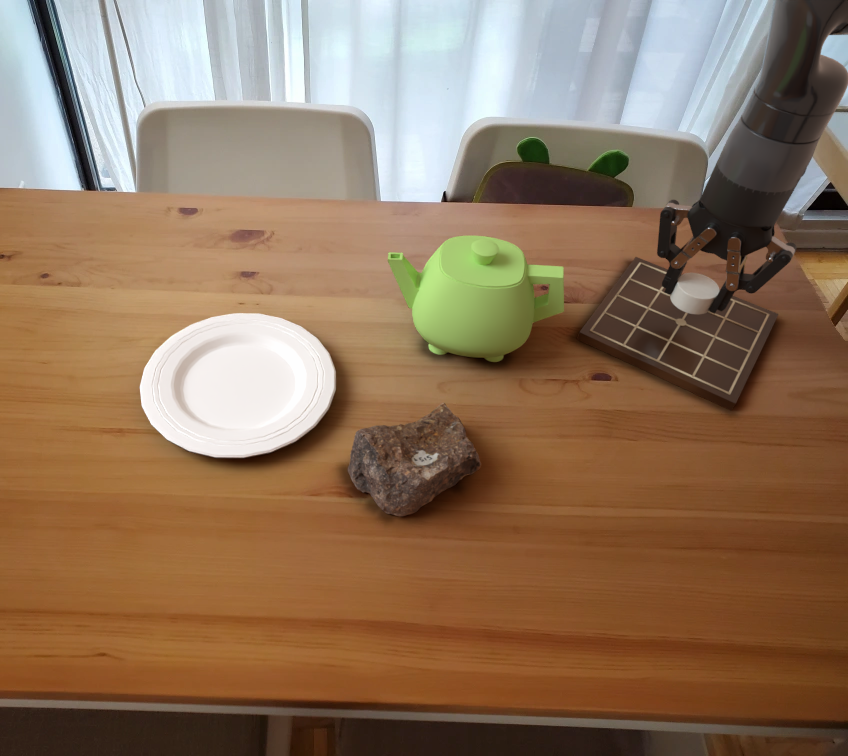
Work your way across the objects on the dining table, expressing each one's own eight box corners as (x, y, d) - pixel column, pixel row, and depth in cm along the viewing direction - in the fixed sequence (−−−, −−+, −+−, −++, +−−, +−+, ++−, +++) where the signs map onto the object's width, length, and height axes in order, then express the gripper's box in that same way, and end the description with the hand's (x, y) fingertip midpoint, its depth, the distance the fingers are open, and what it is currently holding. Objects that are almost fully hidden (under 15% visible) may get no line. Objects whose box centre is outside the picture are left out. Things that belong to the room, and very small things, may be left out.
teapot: (374, 360, 82) (381, 274, 72) (389, 285, 91) (397, 199, 81) (553, 385, 80) (583, 299, 70) (549, 305, 89) (577, 220, 79)
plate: (101, 400, 77) (97, 389, 75) (235, 299, 88) (234, 287, 87) (246, 504, 68) (245, 493, 67) (374, 378, 80) (375, 366, 78)
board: (774, 321, 88) (779, 313, 87) (731, 410, 78) (736, 402, 77) (632, 263, 95) (636, 255, 94) (576, 339, 85) (579, 331, 84)
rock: (449, 422, 76) (454, 381, 71) (496, 475, 71) (505, 435, 66) (344, 474, 71) (342, 435, 67) (387, 534, 67) (388, 496, 62)
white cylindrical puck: (716, 299, 83) (725, 283, 82) (704, 320, 81) (712, 304, 79) (677, 283, 85) (685, 267, 83) (664, 303, 83) (671, 287, 81)
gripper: (673, 159, 71) (620, 291, 84) (828, 212, 65) (745, 344, 78) (698, 129, 75) (643, 259, 88) (845, 176, 70) (763, 308, 82)
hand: (691, 299), depth 83 cm, fingers closed on white cylindrical puck, 4 cm apart
